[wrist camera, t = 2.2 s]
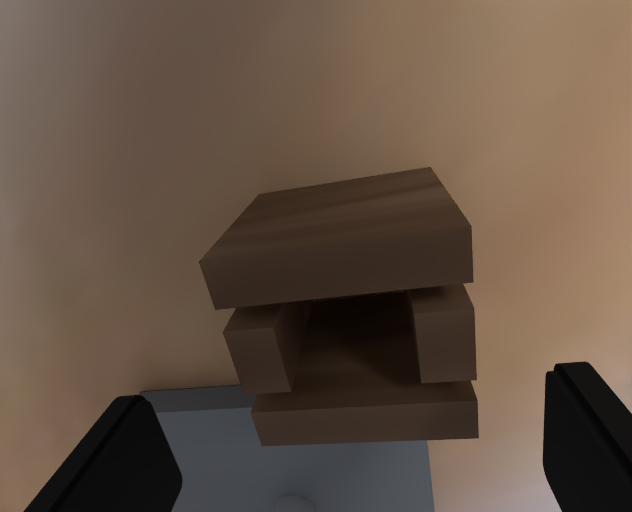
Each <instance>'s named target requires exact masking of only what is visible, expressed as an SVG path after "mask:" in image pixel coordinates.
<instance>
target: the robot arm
mask: <svg viewBox="0 0 632 512" xmlns="http://www.w3.org/2000/svg"><path fill="white" fill-rule="evenodd" d="M543 467H544V472H545V475H546V478H547V481H548V483H549V485H550V487H551V489H552V491H553V494H554V496H555V498H556V500H557V502H558V504H559V506H560V508H561V510H562V512H632V414H631V412H630V411H629V410H628V409H627V408H626V406H625V405H624V404H623V403H622V402H621V400H620V399H619V398H618V397H617V396H616V394H615V393H614V392H613V391H612V390H611V388H610V387H609V386H608V385H607V384H606V382H605V381H604V380H603V379H602V378H601V376H600V375H599V374H598V373H597V372H596V370H595V369H594V368H593V367H592V366H591V365H590V364H589V363H588V362H572V363H559V364H556V365H555V366H554V371H548V372H547V373H546V381H545V411H544V440H543ZM182 482H183V479H182V474H181V471H180V469H179V467H178V464H177V462H176V460H175V457H174V455H173V453H172V450H171V448H170V446H169V443H168V441H167V439H166V436H165V434H164V432H163V429H162V427H161V425H160V422H159V420H158V418H157V415H156V413H155V411H154V408H153V406H152V404H151V402H150V401H147V400H146V399H145V397H144V396H142V395H132V396H120V397H117V398H116V399H115V400H114V401H113V402H112V403H111V404H110V405H109V407H108V408H107V409H106V410H105V412H104V413H103V414H102V415H101V417H100V418H99V419H98V420H97V422H96V423H95V424H94V425H93V426H92V428H91V429H90V430H89V431H88V433H87V434H86V435H85V436H84V438H83V439H82V440H81V441H80V443H79V444H78V445H77V446H76V447H75V449H74V450H73V451H72V452H71V454H70V455H69V456H68V457H67V459H66V460H65V461H64V462H63V464H62V465H61V466H60V467H59V468H58V470H57V471H56V472H55V473H54V475H53V476H52V477H51V478H50V480H49V481H48V482H47V483H46V485H45V486H44V487H43V488H42V489H41V491H40V492H39V493H38V494H37V496H36V497H35V498H34V499H33V501H32V502H31V503H30V504H29V506H28V507H27V508H26V509H25V510H24V512H171V511H172V509H173V507H174V504H175V502H176V500H177V498H178V496H179V493H180V491H181V488H182Z"/></svg>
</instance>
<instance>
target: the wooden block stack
mask: <svg viewBox="0 0 632 512" xmlns="http://www.w3.org/2000/svg"><path fill="white" fill-rule="evenodd" d="M199 263H200V266H201V269H202V272H203V275H204V278H205V281H206V284H207V287H208V289H209V292H210V295H211V298H212V301H213V304H214V307H215V310H219V309H228V308H236V309H235V311H234V313H233V315H232V317H231V318H230V320H229V322H228V324H227V326H226V327H225V329H224V331H223V334H224V337H225V340H226V342H227V345H228V348H229V351H230V354H231V357H232V360H233V363H234V366H235V369H236V372H237V375H238V378H239V381H240V384H241V387H242V390H243V392H244V395H249V394H257V395H256V398H255V401H254V404H253V407H252V410H251V416H252V419H253V422H254V425H255V428H256V431H257V434H258V437H259V440H260V443H261V445H262V446H286V445H312V444H339V443H365V442H391V441H418V440H444V439H471V438H479V432H478V403H477V398H476V395H475V392H474V389H473V386H472V383H471V380H477V374H476V345H475V317H474V307H473V304H472V302H471V300H470V298H469V296H468V294H467V291H466V289H465V287H464V285H463V283H472V282H473V259H472V230H471V225H470V223H469V222H468V220H467V219H466V217H465V216H464V215H463V213H462V212H461V210H460V209H459V207H458V206H457V204H456V203H455V202H454V200H453V199H452V197H451V196H450V194H449V193H448V192H447V190H446V189H445V187H444V186H443V184H442V183H441V182H440V180H439V179H438V177H437V176H436V174H435V173H434V172H433V170H432V169H431V167H427V168H421V169H415V170H409V171H403V172H396V173H390V174H384V175H378V176H371V177H365V178H359V179H353V180H346V181H340V182H334V183H328V184H322V185H315V186H309V187H303V188H297V189H290V190H284V191H278V192H272V193H265V194H259V195H258V196H257V197H256V198H255V200H254V201H253V202H252V203H251V204H250V205H249V206H248V207H247V208H246V210H245V211H244V212H243V213H242V214H241V215H240V216H239V217H238V219H237V220H236V221H235V222H234V223H233V224H232V225H231V226H230V228H229V229H228V230H227V231H226V232H225V233H224V234H223V235H222V237H221V238H220V239H219V240H218V241H217V242H216V243H215V244H214V245H213V247H212V248H211V249H210V250H209V251H208V252H207V253H206V254H205V256H204V257H203V258H202V259H201V260H200V261H199ZM397 290H405V293H401V294H391V295H381V296H372V297H362V298H353V299H343V300H334V301H324V302H315V303H312V301H313V299H322V298H331V297H340V296H350V295H359V294H368V293H378V292H387V291H397Z"/></svg>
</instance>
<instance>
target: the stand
mask: <svg viewBox="0 0 632 512" xmlns="http://www.w3.org/2000/svg"><path fill="white" fill-rule="evenodd" d="M139 395H142V396H144V397H145V399H146V400H147V401H150V402H151V404H152V406H153V408H154V411H155V413H156V415H157V418H158V420H159V422H160V425H161V427H162V429H163V432H164V434H165V436H166V439H167V441H168V443H169V446H170V448H171V450H172V453H173V455H174V457H175V460H176V462H177V464H178V467H179V469H180V471H181V474H182V479H183V482H182V488H181V491H180V493H179V496H178V498H177V500H176V502H175V504H174V507H173V511H174V512H434V503H433V493H432V484H431V475H430V465H429V456H428V447H427V440H418V441H391V442H365V443H339V444H312V445H286V446H262V445H261V443H260V440H259V437H258V434H257V431H256V428H255V425H254V422H253V419H252V416H251V410H252V407H253V404H254V401H255V398H256V395H257V394H249V395H244V392H243V390H242V387H241V385H235V386H221V387H206V388H192V389H177V390H162V391H148V392H140V394H139Z"/></svg>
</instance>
